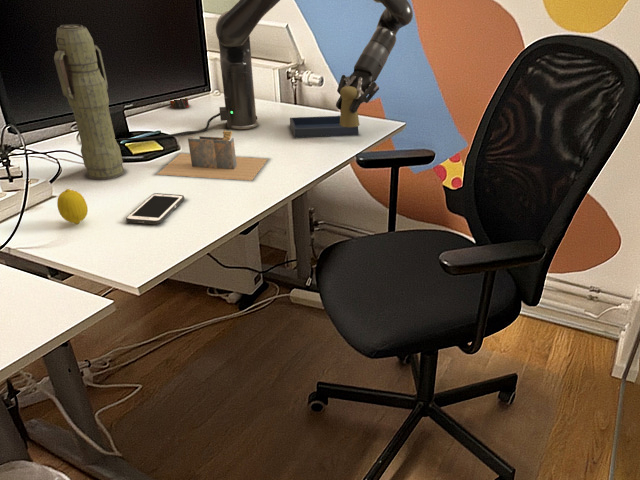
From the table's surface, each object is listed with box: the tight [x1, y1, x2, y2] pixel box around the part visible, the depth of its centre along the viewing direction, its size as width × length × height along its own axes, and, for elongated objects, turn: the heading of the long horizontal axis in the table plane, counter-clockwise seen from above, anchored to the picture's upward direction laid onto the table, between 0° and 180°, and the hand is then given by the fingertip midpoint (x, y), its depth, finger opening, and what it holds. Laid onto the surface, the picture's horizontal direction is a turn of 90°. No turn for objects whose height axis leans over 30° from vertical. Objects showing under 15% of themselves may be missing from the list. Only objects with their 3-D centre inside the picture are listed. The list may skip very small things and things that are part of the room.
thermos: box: [53, 23, 125, 181], centre depth 145 cm, size 9×12×35 cm
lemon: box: [56, 188, 89, 225], centre depth 127 cm, size 6×6×8 cm
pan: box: [289, 115, 359, 139], centre depth 191 cm, size 20×13×3 cm, turn 105°
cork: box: [339, 86, 360, 127], centre depth 179 cm, size 6×6×11 cm
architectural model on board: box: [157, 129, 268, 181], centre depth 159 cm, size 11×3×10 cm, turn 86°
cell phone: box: [125, 192, 185, 225], centre depth 136 cm, size 8×15×1 cm, turn 175°
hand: (344, 109), depth 178 cm, fingers closed on cork, 4 cm apart
